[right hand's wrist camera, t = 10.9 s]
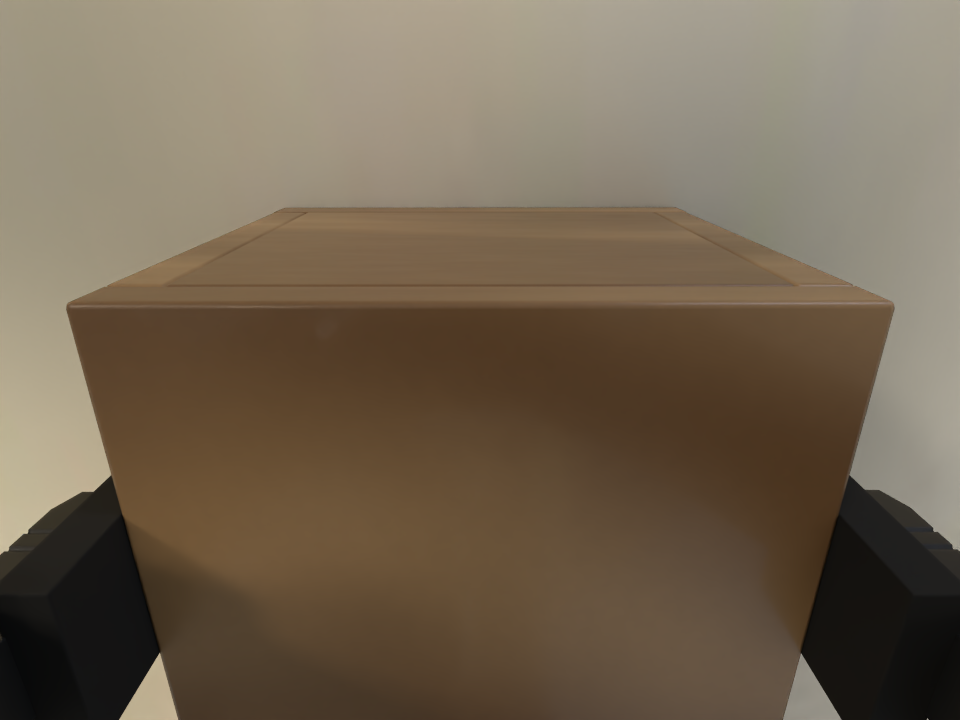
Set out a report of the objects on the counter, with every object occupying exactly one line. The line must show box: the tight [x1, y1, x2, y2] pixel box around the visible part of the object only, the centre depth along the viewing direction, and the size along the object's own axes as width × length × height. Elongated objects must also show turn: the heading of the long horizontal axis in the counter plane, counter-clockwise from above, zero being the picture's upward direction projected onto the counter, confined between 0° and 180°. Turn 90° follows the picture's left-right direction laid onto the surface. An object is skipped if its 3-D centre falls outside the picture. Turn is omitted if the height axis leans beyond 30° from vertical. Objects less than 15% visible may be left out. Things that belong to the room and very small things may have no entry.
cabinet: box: [66, 208, 894, 720], centre depth 15 cm, size 17×10×9 cm, turn 0°
